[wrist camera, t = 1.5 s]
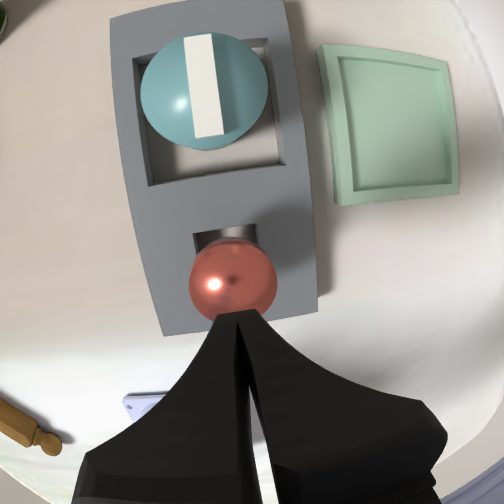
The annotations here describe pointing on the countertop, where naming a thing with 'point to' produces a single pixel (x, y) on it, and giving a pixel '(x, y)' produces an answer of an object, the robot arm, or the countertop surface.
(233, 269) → the plunger
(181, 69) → the rotary knob
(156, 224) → the housing
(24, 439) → the tap handle
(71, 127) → the countertop surface
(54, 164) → the countertop surface
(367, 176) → the tray
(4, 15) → the beer can
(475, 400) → the countertop surface
